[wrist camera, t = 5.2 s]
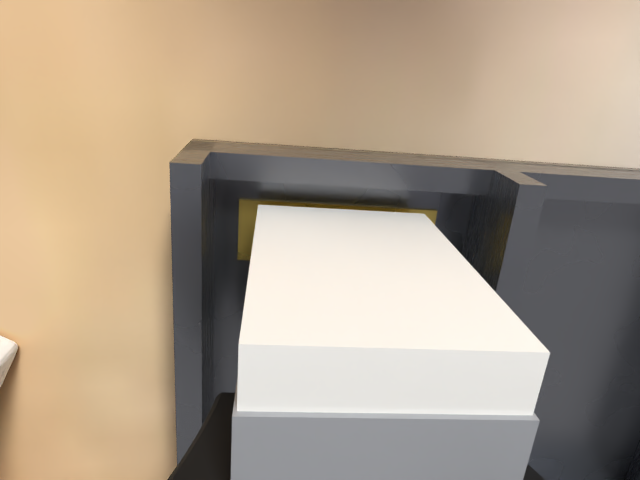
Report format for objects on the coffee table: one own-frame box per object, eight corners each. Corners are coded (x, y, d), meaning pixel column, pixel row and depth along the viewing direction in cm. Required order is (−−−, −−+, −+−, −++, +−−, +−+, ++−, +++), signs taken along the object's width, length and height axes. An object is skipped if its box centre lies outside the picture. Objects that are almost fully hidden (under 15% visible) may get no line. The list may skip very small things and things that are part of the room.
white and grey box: (426, 213, 12) (558, 357, 6) (385, 470, 15) (451, 730, 9) (255, 204, 12) (233, 348, 6) (246, 470, 14) (224, 742, 9)
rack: (743, 175, 14) (859, 207, 11) (623, 487, 18) (687, 568, 15) (192, 139, 12) (167, 164, 9) (195, 488, 16) (178, 577, 13)
